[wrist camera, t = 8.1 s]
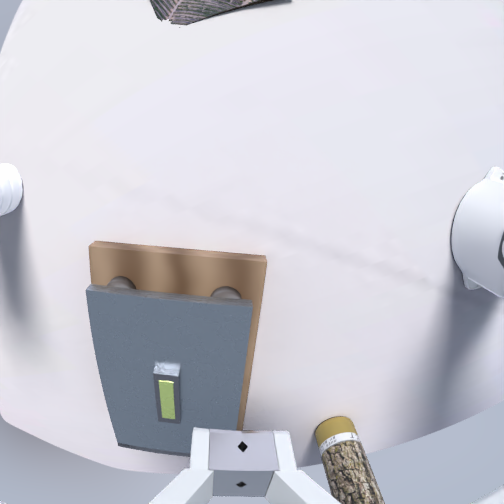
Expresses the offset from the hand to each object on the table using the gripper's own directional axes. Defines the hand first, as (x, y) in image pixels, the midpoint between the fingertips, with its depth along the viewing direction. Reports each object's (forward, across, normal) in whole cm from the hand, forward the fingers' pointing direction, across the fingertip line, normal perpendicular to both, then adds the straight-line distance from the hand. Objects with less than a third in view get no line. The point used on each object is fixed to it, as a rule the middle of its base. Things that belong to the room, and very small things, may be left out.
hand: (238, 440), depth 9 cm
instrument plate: (+22, +6, +19) cm, 30 cm away
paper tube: (+27, -20, +33) cm, 47 cm away
